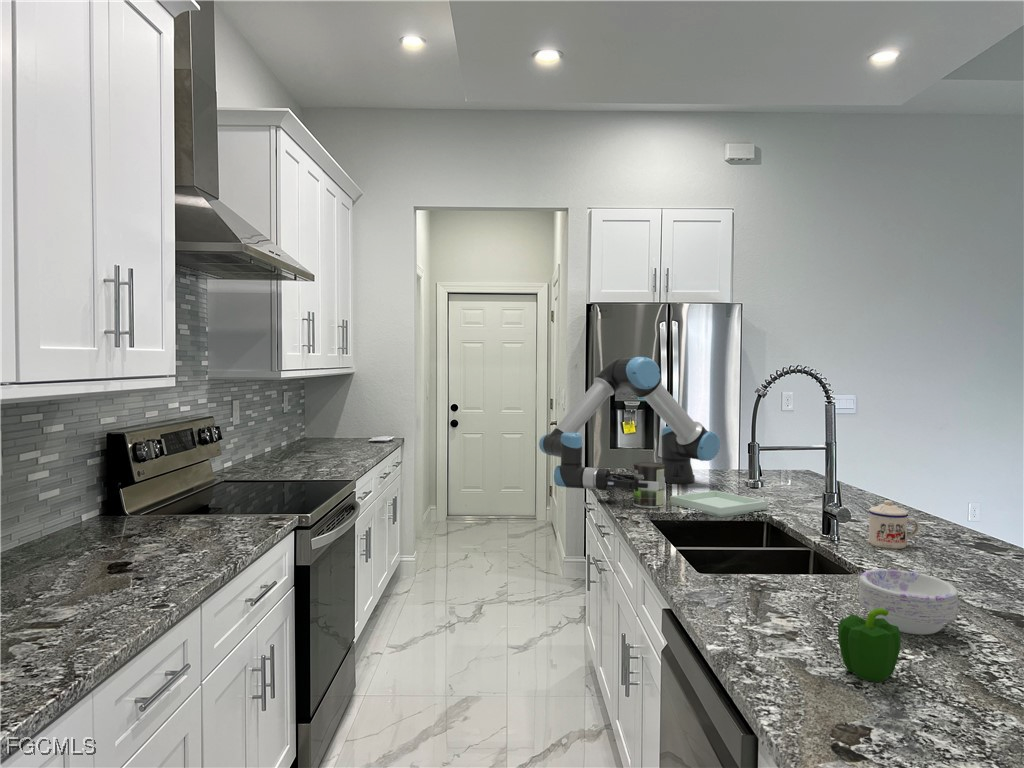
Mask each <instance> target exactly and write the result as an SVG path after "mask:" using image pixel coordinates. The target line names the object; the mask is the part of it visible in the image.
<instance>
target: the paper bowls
mask: <svg viewBox="0 0 1024 768" xmlns="http://www.w3.org/2000/svg"><path fill="white" fill-rule="evenodd" d="M858 584H859V591H858V594H859V596H858V599H859V600H858V601H859V604H860V605H861V606H862V607H863V608H864V609H865V610H867V611H868V612H871V611H873V610H874V609H880V608H882V609H886V610H887V611H888V612H889V613H888V615H887V616H884V615H878V616H876V618H883V619H885V620H886V621H887V622H888V623H889V624H891V625H894V626H898V628H899V631H900V633H904V634H910V635H924V636H926V635H927V636H928V635H933V634H936V633H938V632H940V631H941V630H942V628H943V627H944V625H946V624H950V623H953V622H955V621H956V620H957V619H958V616H959V614H958V613H959V591H958V589H957V588H956V587H955V586H954V585H952V584H951V583H949V582H948V581H945V580H943V579H940V578H938V577H934V576H931V575H927V574H923V573H920V572H919V573H918V572H914V571H908V570H907V571H906V570H898V569H873V570H872V569H870V570H867V571H864V572H862V573H861V574H860V576H859V583H858Z"/></svg>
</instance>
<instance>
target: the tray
mask: <svg viewBox="0 0 1024 768" xmlns="http://www.w3.org/2000/svg"><path fill="white" fill-rule="evenodd" d="M669 499H670V500H669V505H670V504H672V505H671V506H673V505H676V506H681V507H686V508H690V509H695V510H698V511H702V512H703V513H702V514H705V515H709V516H712V517H716V518H717V517H718V518H727V517H735V516H740V515H746V514H747V515H748V514H750V513H749V512H753V513H755V512H754V511H760V512H762V511H761V510H766V511H768V503H769V502H768V501H767V500H763V499H759V498H753V497H748V496H744V495H739V494H735V493H729V492H725V491H721V490H720V491H719V490H708V491H700V492H694V493H686V494H685V493H684V494H675V495H670V498H669ZM676 506H675V507H676Z"/></svg>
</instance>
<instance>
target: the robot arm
mask: <svg viewBox="0 0 1024 768" xmlns="http://www.w3.org/2000/svg"><path fill="white" fill-rule="evenodd" d="M660 371H661V370H660V367H659V365H658V364H657V362H655V360H653V359H651V358H649V357H646V356H636V357H619V358H616V359H614V360H612V361H611V362H609V363H608V364H606V366H605V367H603V369H602V370H601V371H600V372H599V373H598V374H597V375H596V377H594V379H593V383H592V385H591V386H590V387H589V388H588V390H587V391H586V392H585V393H584V394H583V395H582V396H581V398H580V399H578V401H577V402H576V404H575V405H574V406H573V407H572V408H571V409H570V410H569V411H568V413H567V414H566V415H565V416H564V417H563V419H562V420H561V421H560V422H559V423H558V424H557V426H555V428H554V429H553V430H552V432H550V433H548V434H544V435H542V436H541V438H540V439H539V443H538V445H539V450H541V452H542V453H544V454H546V455H548V456H552V457H558V458H560V465H556V467H555V468H554V473H553V481H554V484H555V485H556V486H558V487H561V488H562V487H563V488H566V489H584V490H587V489H588V491H589V492H590V491H592V490H598V491H608V490H609V489H610V488H619V489H626V490H633V491H634V490H635V491H638V488H639V489H646V490H659V482H653V481H639V483H638V481H634V474H629V473H628V474H625V473H624V474H623V473H615V474H611V470H610V469H608V468H600V467H599V468H598V467H589V466H588V467H585V466H583V437H582V434H581V433H580V432H579V431H580V430H581V429H582V428H583V427H584V426H585V425H586V423H587V422H588V421H589V420H590V419H591V418H592V416H593V415H594V414H595V413H596V411H598V409H599V408H600V407H601V406H602V404H604V402H605V401H606V400H607V398H608V397H610V396H611V397H612V396H614V395H615V394H616V392H617V391H618V390H621V389H629V390H630V391H631V392H632V393H633V394H634V395H635V396H636V397H637V398H638V399H643V400H644V401H646V402H647V404H648V405H650V407H651V408H652V409H653V410H654V412H655V413H656V414H657V415H658V416H659V418H661V419H662V421H663V422H664V423H665V424H666V425H667V426H664V427H663V428H662V431H661V432H662V433H661V462H660V463H661V464H664V465H665V467H664V486H665V484H667V483H668V484H675V485H676V484H680V485H681V484H692V483H695V482H696V479H695V477H696V476H695V474H694V471H693V467H692V464H691V461H692V460H691V459H693V460H698V461H701V462H709V461H712V460H714V459H715V458H716V457H717V455H718V453H719V452H720V448H721V447H720V445H721V440H720V437H719V435H718V434H717V433H716V432H714V431H712V430H711V431H710V430H707V429H706V428H705V427H704V425H703V424H702V423H701V422H699V421H694V420H693V419H692V418H691V417H690V415H689V414H688V413H687V412H686V411H685V409H684V408H683V407H682V406H681V405H680V403H679V402H678V401H677V400H676V399H675V398H674V396H673V395H672V394H670V393H671V392H669V391H668V390H667V388H665V386H664V385H663V384H662V377H661V373H660ZM665 482H667V483H665Z"/></svg>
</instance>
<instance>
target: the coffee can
mask: <svg viewBox="0 0 1024 768" xmlns="http://www.w3.org/2000/svg"><path fill="white" fill-rule="evenodd" d="M661 463H662V462H652V461H648V462H647V461H638V462H634V463H633V475H634V481H638V483H639V481H653V482H659V490H646V489H639V488H638V491H635V490H633V504H632V505H633V506H635V507H636V508H643V509H659V508H658V507H661V508H663V507H664V506H665V505H664V504H665V503H664V502H665V501H664V495H665V493H664V491H665V487H664V486H665V485H664V467H665V465H664V464H661ZM662 506H663V507H662Z"/></svg>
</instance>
